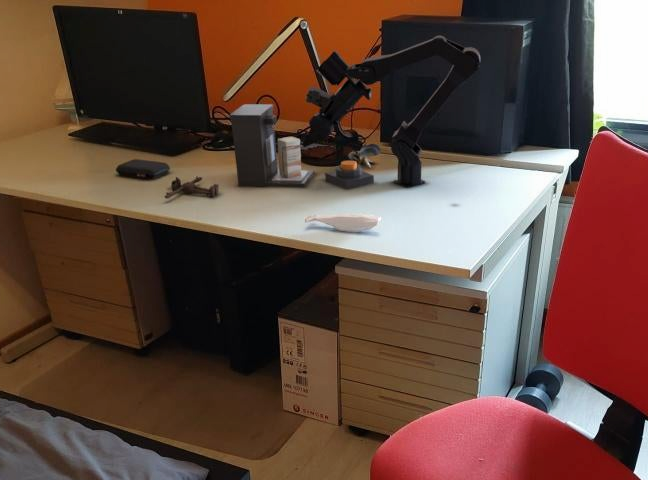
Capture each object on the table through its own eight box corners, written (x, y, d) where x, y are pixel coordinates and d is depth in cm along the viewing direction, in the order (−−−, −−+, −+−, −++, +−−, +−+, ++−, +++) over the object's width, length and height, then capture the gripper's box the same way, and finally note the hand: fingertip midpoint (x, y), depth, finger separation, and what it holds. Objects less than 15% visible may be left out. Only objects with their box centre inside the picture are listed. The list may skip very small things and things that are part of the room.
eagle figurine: (372, 168, 207) (386, 155, 213) (358, 147, 205) (373, 134, 211) (355, 179, 213) (369, 166, 218) (341, 158, 211) (356, 145, 216)
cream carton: (287, 178, 200) (285, 141, 195) (279, 175, 203) (276, 139, 198) (302, 174, 203) (300, 138, 197) (294, 171, 206) (291, 135, 200)
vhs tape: (335, 153, 227) (335, 146, 226) (321, 159, 222) (320, 152, 221) (300, 147, 234) (300, 141, 233) (285, 153, 229) (284, 146, 228)
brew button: (360, 169, 199) (359, 162, 198) (347, 172, 197) (346, 165, 196) (350, 165, 202) (350, 159, 201) (338, 168, 200) (337, 162, 199)
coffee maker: (314, 173, 209) (310, 104, 198) (304, 188, 197) (299, 115, 187) (251, 172, 212) (244, 104, 201) (237, 186, 200) (229, 115, 190)
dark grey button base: (373, 183, 200) (373, 168, 197) (347, 189, 195) (347, 175, 193) (351, 174, 207) (350, 160, 205) (325, 180, 203) (324, 166, 201)
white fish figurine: (376, 237, 165) (375, 220, 163) (304, 230, 170) (302, 213, 168) (383, 229, 169) (383, 212, 167) (312, 222, 174) (311, 206, 172)
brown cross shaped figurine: (197, 195, 185) (149, 184, 189) (198, 210, 187) (151, 200, 191) (231, 175, 199) (186, 166, 203) (232, 190, 201) (187, 181, 205)
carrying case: (111, 176, 212) (150, 182, 206) (109, 166, 210) (148, 171, 204) (135, 167, 220) (173, 172, 214) (133, 157, 218) (172, 161, 212)
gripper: (329, 70, 195) (293, 112, 203) (315, 82, 180) (276, 128, 187) (359, 100, 198) (322, 141, 206) (347, 115, 183) (307, 158, 190)
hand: (307, 141), depth 197 cm, fingers open, 9 cm apart
